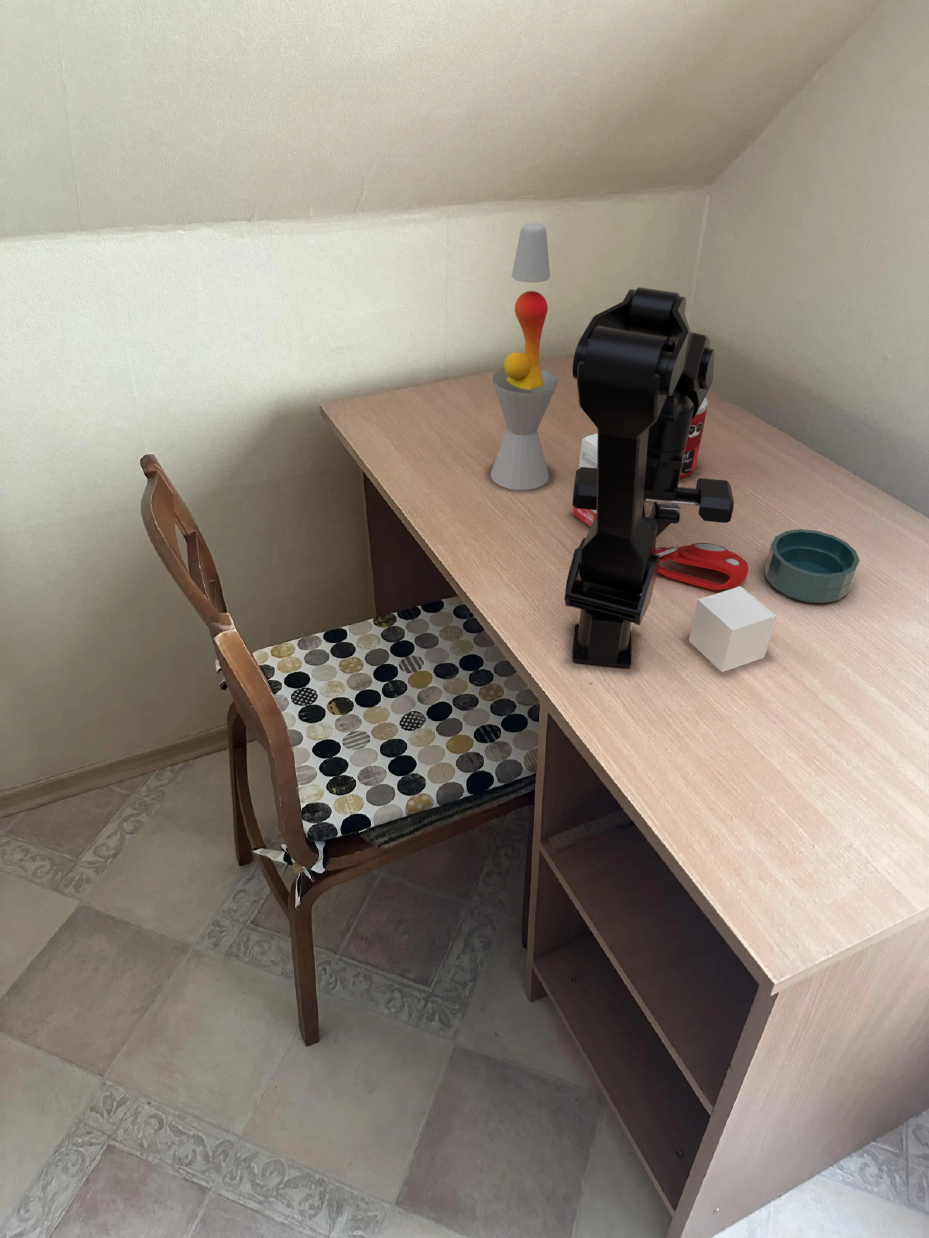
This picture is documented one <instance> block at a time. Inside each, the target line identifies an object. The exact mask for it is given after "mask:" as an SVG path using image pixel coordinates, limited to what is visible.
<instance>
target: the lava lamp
mask: <svg viewBox="0 0 929 1238" xmlns="http://www.w3.org/2000/svg"><path fill="white" fill-rule="evenodd" d="M548 247H549V246H548V234H547V228H546V226H545V225H544V224H542V223H538V222H527V223H524V224H523V225H521V228H520V231H519V237H518V241H517V247H516V252H515V257H514V262H513V267H512V272H511V278H512V279H514V280H515V281H518V282H522V283H532V284H533V283H542V282H546V281H548V280H550V278H551V272H550V271H551V270H550V260H549V248H548ZM548 309H549V307H548V301H547V300H546V297H544V295H543V294H541V293H540V292H538V291H535V290H529V291H526V292H523V293H522V294H520V295H519V296H518V297H517V298H516V301H515V304H514V313H515V314H514V315H515V317H516V319H517V321H518V323H519V325H520V327H521V331H522V334H523V337H524V353H523V352H521V351H514V352H512V353H510V354H509V355H507V357H506V358H505V359H504V364H503V369H499V370H498V371H496V373H494V374H493V376H492V384H493V387H494V390H495V394H496V396H497V399H498V403H499V405H500V409H501V413H502V416H503V418H504V419H503V420H504V421H505V425H506V430H505V434H504V437H503V439H502V442H501V445H500V447H499V450H498V453H497V455H496V458H495V461H494V462H493V463H494V464H493V466H492V469H491V472H490V479H491V480H492V481H493V482H494V483H495V484H496V485H499V486H500V487H501V488H506V489H508V490H513V491H514V490H515V491H530V490H534V489H538V488H540V487H542V486H545V484H546V483H547V482H548V481H549V479H550V474H549V470H548V466H547V462H546V458H545V455H544V450H543V446H542V442H541V439H540V434H539V432H538V431H539V430H538V429H539V427H540V424H541V422H542V420H543V418H544V416H545V413H546V411H547V409H548V408H549V404H550V403H551V400H552V397H553V395H554V393H555V391H556V389H557V386H558V382H559V379H558V377H557V375H555V374H554V373H553V372H551V371H549V370H547V369H544V368H541V364H540V362H541V361H540V348H541V338H542V333H543V328H544V325H545V321H546V318H547V314H548Z"/></svg>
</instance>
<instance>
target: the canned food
mask: <svg viewBox="0 0 929 1238" xmlns="http://www.w3.org/2000/svg"><path fill="white" fill-rule="evenodd" d="M708 404H709V401H708V399H707V397H705V399H704V401H703V402H702V404H701V406H700V408H699V410H698V412H697V414H696V415H695V417H694V418H693V419H692V420H691V425H690V430H689V435H688V440H687V445H686V450H685V455H684V460H683V464H682V469H681V474H680V479H679V480H682V479H685V478H688V477H689V476H691V475H692V474H693V472H694V471H695V469H696V466H697V462H698V457H699V452H700V447H701V443H702V437H703V432H704V427H705V423H706V422H705V421H706V417H707V416H706V415H707V410H708Z"/></svg>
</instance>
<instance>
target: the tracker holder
mask: <svg viewBox="0 0 929 1238" xmlns="http://www.w3.org/2000/svg"><path fill="white" fill-rule="evenodd" d="M655 554H656V555H660V561H659V562H660V563H661V562H662V563H663V562H666V561H667V559H669V560H670V561H671V562H672V561H673V562H674V563H678V564H683V565H687V566H693V567H698V568H703V569H707V570H708V569H709V570H712V571H718V572H719V573H722V574H725V575H727V576H728V577H729V579H728V580H727V581H725V583H719V582H715V581H712V580H709V579H705V578H702V577H701V578H700V577H697V576H695V575H694V576H693V575H690V574H687V573H683V572H679V571H675V570H671V569H669V568H667V567H664V566H662V565H660V564H659V567H658V571H657V574H658V573H659V574H661V575H663V576H665V577H667V578H670V579H672V580H675V581H680V582H683V583H686V584H690V585H692V586H693V585H694V586H697V587H700V588H703V589H707V590H712V591H722V590H723V591H725V590H730V589H733V588H737V587H740V585H742V584H743V583H744V581H746V578H747V576H748V574H749V564H748V562H747V561H746V560H745V559H744V558H743V557H742V556H740V555H739V554H737V553H736V552H733V551H730V550H729V549H727V548H725V547H723V546H722V545H718V544H715V543H709V542H708V543H707V542H695V543H692V544H689V545H681V546H677V545H674V546H671V547H666V546H660V547H656V553H655Z"/></svg>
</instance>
